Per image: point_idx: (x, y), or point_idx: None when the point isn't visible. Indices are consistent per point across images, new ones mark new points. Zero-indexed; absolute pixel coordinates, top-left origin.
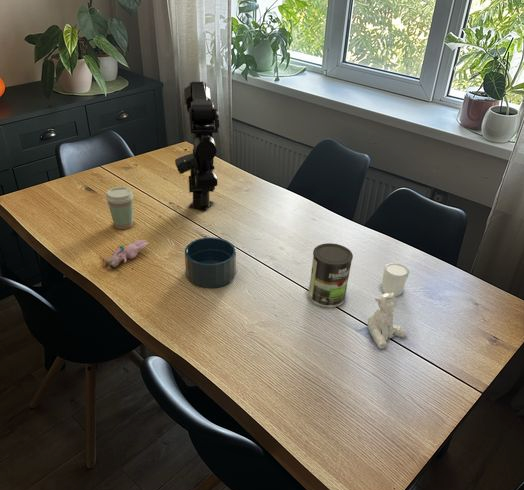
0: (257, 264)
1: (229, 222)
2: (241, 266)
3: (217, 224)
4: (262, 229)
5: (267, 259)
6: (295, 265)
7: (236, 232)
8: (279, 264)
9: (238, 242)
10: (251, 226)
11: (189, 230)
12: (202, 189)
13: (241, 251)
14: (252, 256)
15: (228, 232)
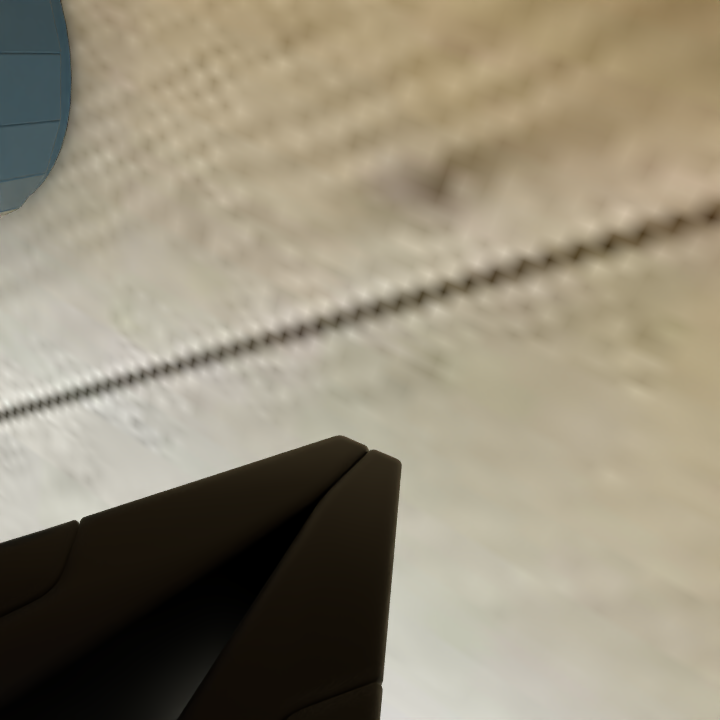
0: (24, 375)
1: (607, 523)
2: (8, 277)
3: (627, 408)
4: None
5: (63, 451)
6: (12, 531)
7: (408, 475)
8: (21, 475)
9: (265, 408)
10: (455, 617)
11: (652, 45)
12: (162, 509)
13: (155, 364)
14: (97, 395)
15: (432, 420)
